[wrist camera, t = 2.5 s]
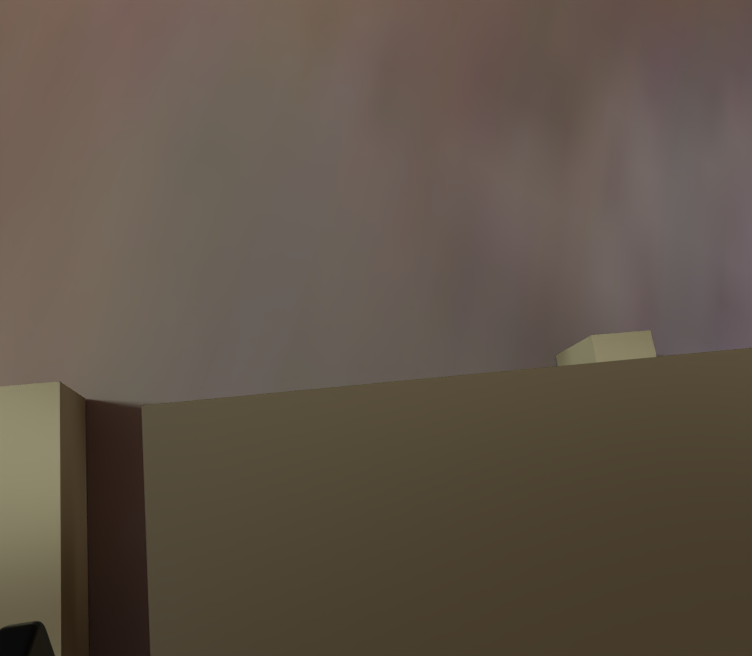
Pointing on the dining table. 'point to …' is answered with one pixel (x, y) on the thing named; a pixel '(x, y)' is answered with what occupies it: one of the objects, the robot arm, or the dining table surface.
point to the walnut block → (459, 515)
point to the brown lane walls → (69, 497)
